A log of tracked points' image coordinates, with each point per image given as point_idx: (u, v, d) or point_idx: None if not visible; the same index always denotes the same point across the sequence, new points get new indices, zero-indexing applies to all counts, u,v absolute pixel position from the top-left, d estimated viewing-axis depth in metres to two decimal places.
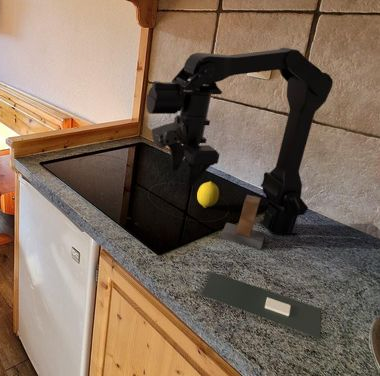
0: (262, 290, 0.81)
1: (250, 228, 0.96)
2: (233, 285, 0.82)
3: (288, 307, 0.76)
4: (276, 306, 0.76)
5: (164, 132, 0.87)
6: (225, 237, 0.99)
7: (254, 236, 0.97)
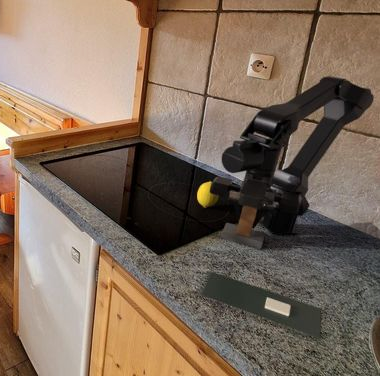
0: (262, 290, 0.81)
1: (250, 228, 0.96)
2: (233, 285, 0.82)
3: (288, 307, 0.76)
4: (276, 306, 0.76)
5: (270, 194, 0.86)
6: (225, 237, 0.99)
7: (254, 236, 0.97)
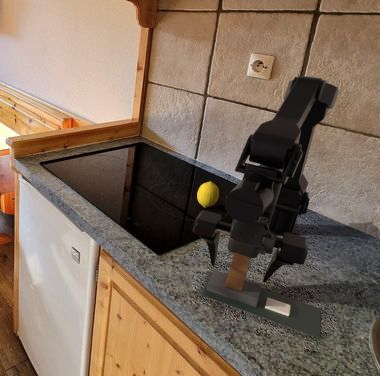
0: (262, 290, 0.81)
1: (242, 281, 0.76)
2: None
3: (288, 307, 0.76)
4: (276, 306, 0.76)
5: (268, 240, 0.66)
6: (212, 290, 0.80)
7: (247, 290, 0.77)
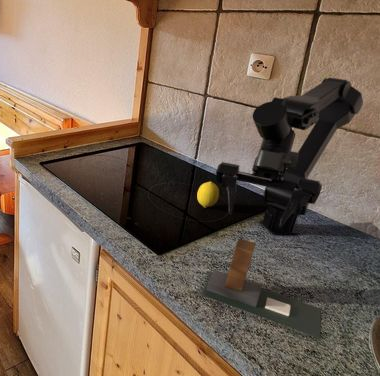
0: (262, 290, 0.81)
1: (242, 281, 0.76)
2: None
3: (288, 307, 0.76)
4: (276, 306, 0.76)
5: (293, 153, 0.76)
6: (212, 290, 0.80)
7: (247, 290, 0.77)
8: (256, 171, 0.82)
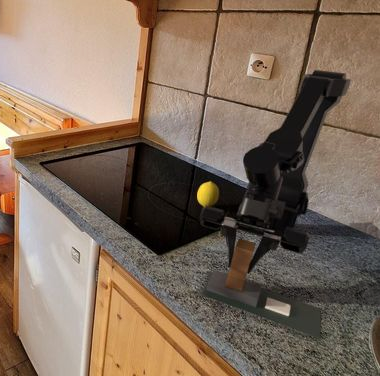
0: (262, 290, 0.81)
1: (242, 281, 0.76)
2: None
3: (288, 307, 0.76)
4: (276, 306, 0.76)
5: (279, 202, 0.72)
6: (212, 290, 0.80)
7: (247, 290, 0.77)
8: (241, 217, 0.78)
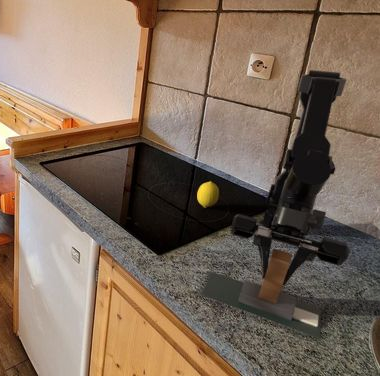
0: None
1: (277, 293, 0.74)
2: (233, 285, 0.82)
3: (316, 317, 0.73)
4: (303, 316, 0.74)
5: (318, 212, 0.69)
6: (244, 301, 0.77)
7: (282, 303, 0.74)
8: (276, 227, 0.75)
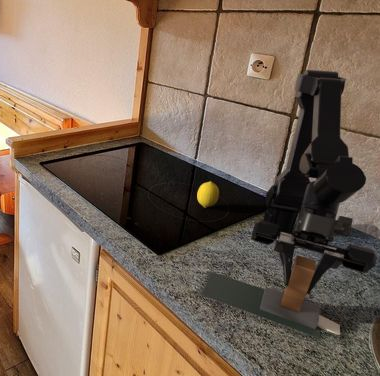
0: (262, 290, 0.81)
1: (301, 301, 0.72)
2: (233, 285, 0.82)
3: None
4: (327, 326, 0.72)
5: (345, 218, 0.67)
6: (266, 309, 0.75)
7: (305, 311, 0.73)
8: (299, 233, 0.73)
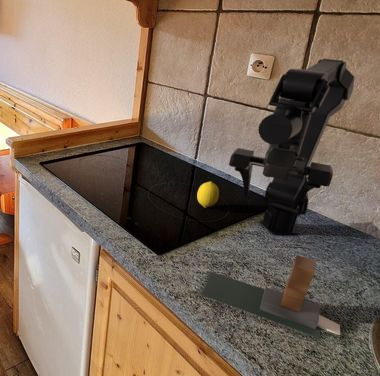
0: (262, 290, 0.81)
1: (301, 301, 0.72)
2: (233, 285, 0.82)
3: None
4: (327, 326, 0.72)
5: (299, 163, 0.77)
6: (265, 309, 0.75)
7: (305, 311, 0.73)
8: None
